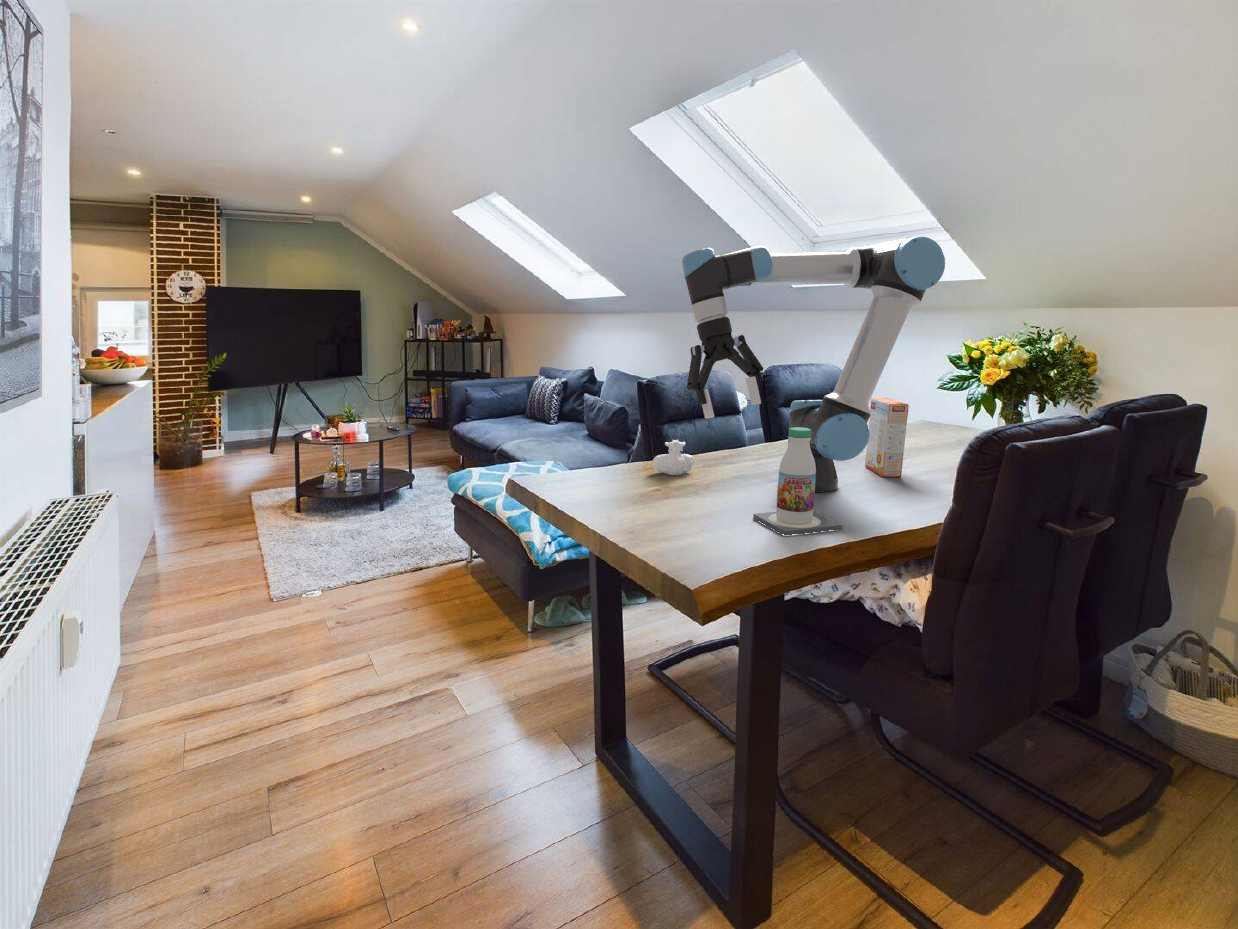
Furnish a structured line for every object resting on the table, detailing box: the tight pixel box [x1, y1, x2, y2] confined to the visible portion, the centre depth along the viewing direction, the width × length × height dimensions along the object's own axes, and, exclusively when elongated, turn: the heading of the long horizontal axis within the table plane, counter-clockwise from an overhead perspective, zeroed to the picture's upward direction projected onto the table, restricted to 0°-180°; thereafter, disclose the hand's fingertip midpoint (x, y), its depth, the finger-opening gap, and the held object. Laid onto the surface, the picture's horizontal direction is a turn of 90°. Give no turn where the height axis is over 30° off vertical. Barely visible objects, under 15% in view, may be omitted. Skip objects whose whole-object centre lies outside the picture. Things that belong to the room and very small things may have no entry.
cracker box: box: [864, 397, 910, 478], centre depth 195 cm, size 14×6×21 cm, turn 179°
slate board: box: [752, 510, 844, 535], centre depth 148 cm, size 14×13×1 cm
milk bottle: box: [775, 427, 816, 524], centre depth 145 cm, size 8×8×20 cm
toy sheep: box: [652, 439, 696, 476], centre depth 192 cm, size 12×8×11 cm
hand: (733, 411), depth 155 cm, fingers open, 13 cm apart
